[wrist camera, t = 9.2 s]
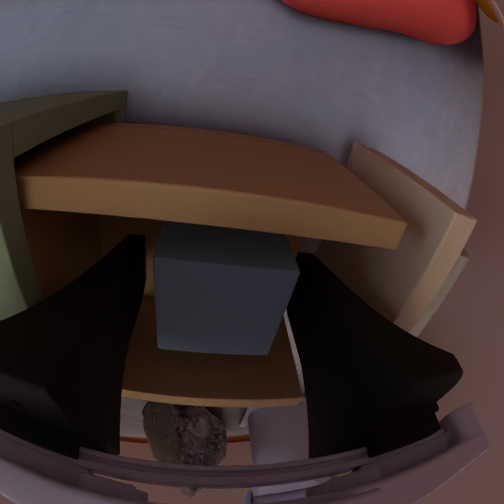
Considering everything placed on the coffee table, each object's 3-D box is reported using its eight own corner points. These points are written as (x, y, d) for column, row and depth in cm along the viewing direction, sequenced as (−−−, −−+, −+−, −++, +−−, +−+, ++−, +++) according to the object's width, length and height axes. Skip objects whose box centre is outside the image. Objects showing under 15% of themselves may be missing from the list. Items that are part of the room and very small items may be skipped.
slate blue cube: (273, 202, 11) (301, 271, 8) (254, 278, 14) (267, 356, 10) (175, 190, 11) (152, 257, 7) (170, 270, 13) (157, 349, 9)
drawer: (433, 171, 12) (524, 240, 7) (364, 313, 18) (403, 397, 12) (92, 105, 9) (-20, 151, 3) (104, 294, 15) (71, 396, 9)
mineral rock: (218, 437, 32) (223, 501, 24) (140, 427, 29) (136, 494, 21) (251, 402, 26) (263, 492, 18) (144, 388, 23) (137, 486, 14)
